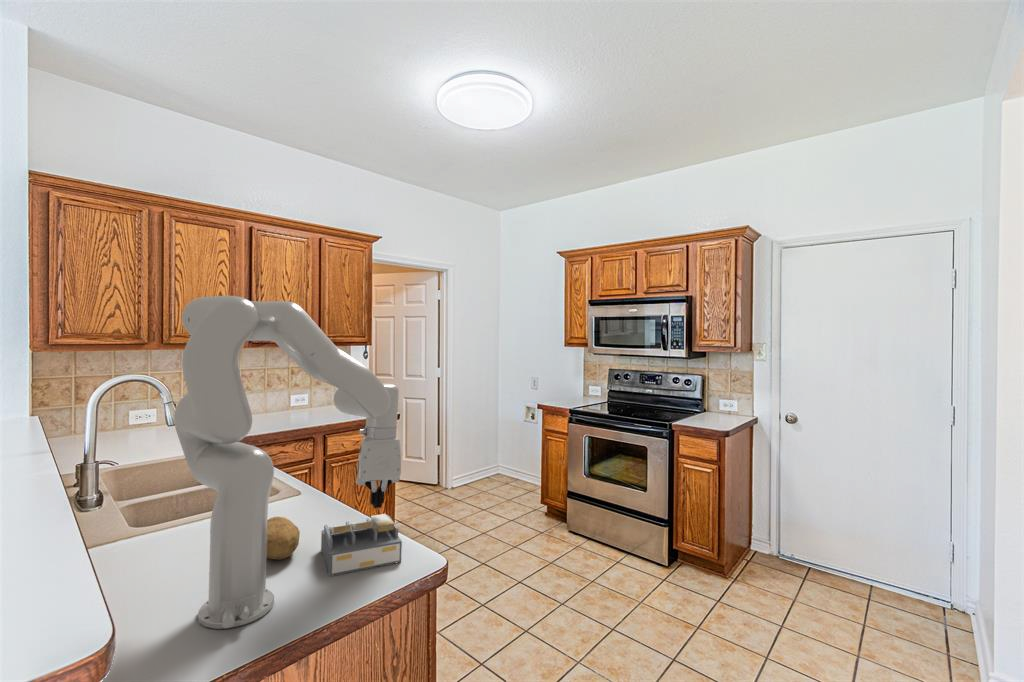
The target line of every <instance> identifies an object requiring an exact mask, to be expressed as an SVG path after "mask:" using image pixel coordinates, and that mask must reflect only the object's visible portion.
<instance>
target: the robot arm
mask: <svg viewBox="0 0 1024 682" xmlns="http://www.w3.org/2000/svg"><path fill="white" fill-rule="evenodd" d="M181 323H182V326H183V328H184V330H185V331H186V332H187V333H188V334H189V335H190V337H189V339H188V341H186V344H185V347H184V350H183V352H182V360H181V361H182V362H181V368H182V375H183V377H184V378H183V379H184V382H185V386H186V390H187V394H185V395H184V396H182V398H181V399H180V400H179V402H178V403H177V405H176V407H175V410H174V414H173V422H174V427H175V431H176V434H177V437H178V440H179V444H180V447H181V449H182V452H183V455H184V457H185V458H184V459H185V461H186V464H187V466H188V469H189V471H190V472H191V475H192V477H193V478H194V479H195V481H197V482H198V483H200V484H201V485H202V486H204V487H205V486H206V487H207V488H210V489H212V490H215V491H216V492H217V493H216V500H215V502H214V505H213V508H212V511H211V517H210V523H209V525H210V527H209V531H210V532H209V537H210V538H209V563H208V564H209V571H208V600H207V601H206V602H205V603H203V604H202V605H201V607H200V608H199V609H198V613H197V616H198V617H197V618H198V622H199V624H200V625H201V626H204V627H206V628H209V629H215V630H216V629H217V630H221V629H230V628H237V627H241V626H244V625H247V624H250V623H252V622H255V621H257V620H258V619H260V618H262V617H264V616H265V615H266V614H267V613H268V612H269V611H270V610H271V609H272V608H273V606H274V603H275V596H274V595H275V594H274V593H273V592H272V591H271V590H269V589H267V587H266V586H267V585H266V583H267V559H268V558H267V520H268V519H269V518H268V515H269V514H268V513H269V500H270V495H271V490H272V485H273V481H274V475H275V468H274V467H275V466H274V462H273V460H272V458H271V456H270V454H268V453H267V452H266V451H264V450H263V449H261V448H259V447H258V446H255V445H253V444H252V445H251V444H247V443H244V442H240V441H242V440H243V439H245V438H246V437H247V435H248V434H249V433H250V431H251V429H252V427H253V426H252V425H253V415H252V411H251V407H250V404H249V401H248V398H247V394H246V390H245V387H244V384H243V380H242V378H241V372H240V368H239V358H240V357H239V356H240V353H241V350H242V349H243V346H244V345H245V343H246V342H254V341H255V342H256V341H258V342H259V341H261V342H263V341H265V342H274V343H275V344H276V345H277V346H278V347H279V348H280V349H281V350H282V351H283V352H284V353H285V354H286V355H287V356H288V357H289V358H290V359H291V360H292V361H293V362H294V363H295V364H296V365H297V366H298V367H299V368H300V369H301V370H302V371H303V372H304V373H305V374H307V375H308V376H309V377H312V378H314V379H316V380H317V381H319V382H323V383H325V384H329V385H331V386H332V387H335V388H337V389H336V391H335V392H334V394H333V403H334V406H335V408H336V409H337V410H338V411H339V412H341V413H343V414H346V415H351V416H356V417H363V418H365V425H364V428H359V435H362V436H364V437H363V438H362V440H361V443H360V447H359V453H358V458H357V469H356V475H357V476H356V479H355V484H356V485H358V486H364V487H366V488H368V489H369V490H370V501H369V502H370V503H369V504H370V505H372V507H373V508H374V509H377V508H379V509H381V508H382V504H384V502H385V501H384V500H385V492H386V491H387V489H388V487H389V486H391V484H394V483H397V482H399V481H401V473H402V451H401V440H400V438H399V437H397V432H398V431H397V428H398V413H399V409H398V407H399V393H400V392H399V387H398V386H397V385H395V384H392V383H383V382H382V381H381V380H380V378H378V376H377V375H376V374H375V373H374V372H372V371H371V370H370V369H369V368H368V367H366V366H365V365H364V364H363V363H361V362H359V361H358V360H357V359H355V358H354V357H352V356H351V355H349V354H348V353H346V352H345V351H343V350H342V349H340V348H339V347H337V345H336V344H334V342H333V341H332V340H331V339H330V338H329V337H328V336H327V335H326V333H324V331H323V330H322V329H321V328H320V326H318V324H317V323H316V322H315V321H314V320H313V318H312V317H311V316H310V315H309V314H308V313H307V312H306V310H304V309H303V308H302V307H301V306H300V305H299V304H297V303H295V302H293V301H289V300H288V301H287V300H275V301H274V300H273V301H271V300H269V301H268V300H266V301H265V300H264V301H262V300H261V301H259V300H258V301H257V300H254V301H253V300H249V299H247V298H244V297H242V296H237V295H217V296H216V295H215V296H201V297H198V298H195V299H193V300H191V301H190V302H188V303H187V304H186V305H185V306H184V308H183V310H182V313H181ZM378 481H379V483H378V487H377V482H378Z"/></svg>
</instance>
